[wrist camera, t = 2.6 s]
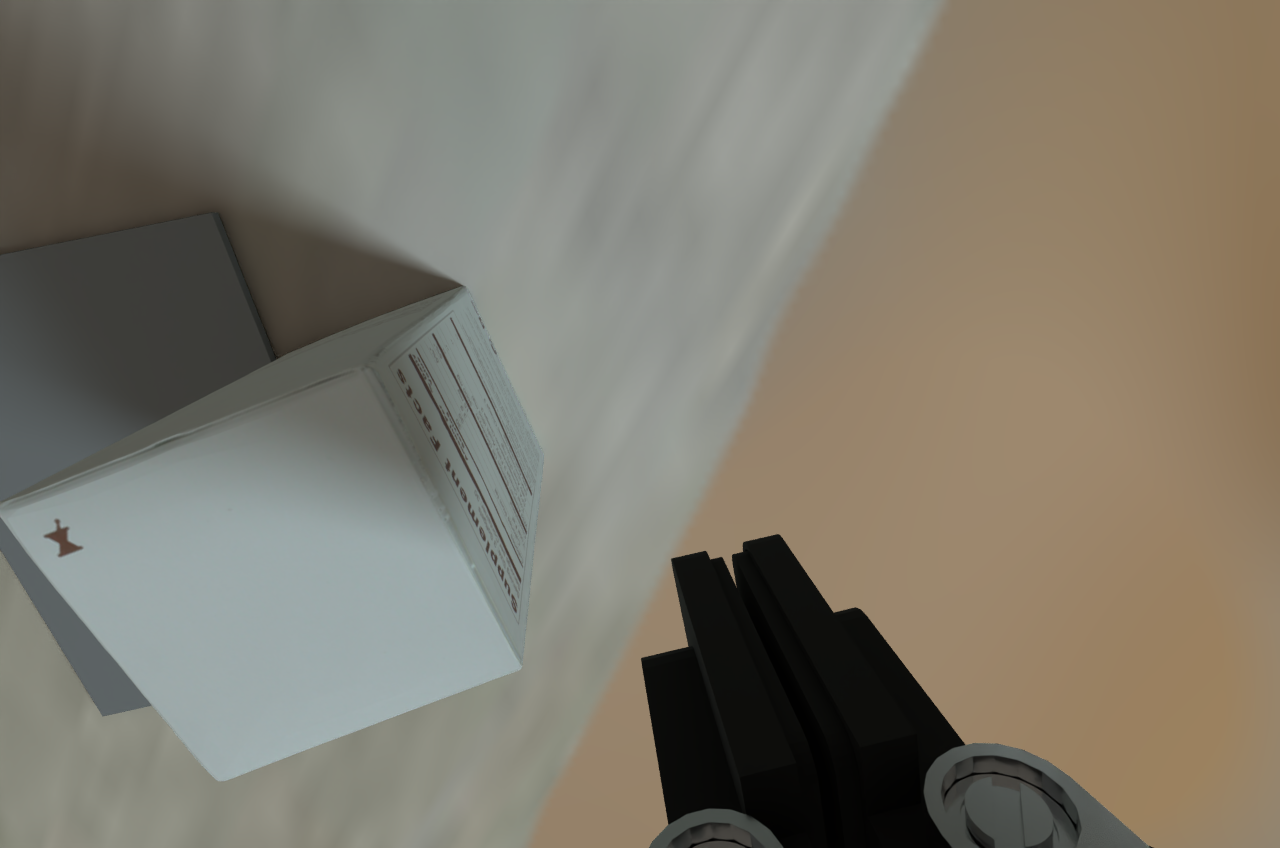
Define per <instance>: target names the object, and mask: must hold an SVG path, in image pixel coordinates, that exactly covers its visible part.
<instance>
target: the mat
mask: <svg viewBox="0 0 1280 848" xmlns="http://www.w3.org/2000/svg"><path fill="white" fill-rule="evenodd" d="M275 360H276V358H275V355H274V353H273V350H272V348H271V345H270V343H269V340H268V338H267V335H266V333H265V330H264V328H263V325H262V323H261V320H260V318H259V315H258V313H257V310H256V308H255V305H254V303H253V300H252V297H251V295H250V292H249V290H248V287H247V285H246V282H245V280H244V277H243V275H242V272H241V270H240V267H239V265H238V262H237V260H236V257H235V255H234V252H233V250H232V247H231V245H230V242H229V240H228V237H227V234H226V232H225V229H224V227H223V224H222V222H221V219H220V217H219V214H218V213H207V214H202V215H197V216H192V217H187V218H182V219H177V220H172V221H167V222H162V223H157V224H152V225H147V226H142V227H137V228H132V229H127V230H122V231H117V232H112V233H107V234H102V235H97V236H92V237H87V238H82V239H77V240H72V241H67V242H62V243H57V244H52V245H47V246H42V247H37V248H32V249H27V250H22V251H17V252H12V253H7V254H2V255H0V502H1V501H3V500H5V499H7V498H9V497H11V496H13V495H15V494H17V493H19V492H21V491H23V490H25V489H27V488H29V487H31V486H33V485H34V484H36V483H38V482H40V481H42V480H44V479H46V478H48V477H50V476H52V475H54V474H56V473H57V472H59V471H61V470H63V469H65V468H67V467H69V466H71V465H73V464H75V463H77V462H79V461H81V460H83V459H85V458H87V457H88V456H90V455H92V454H94V453H96V452H98V451H100V450H102V449H104V448H106V447H108V446H110V445H112V444H114V443H116V442H118V441H120V440H121V439H123V438H125V437H127V436H129V435H131V434H133V433H135V432H137V431H139V430H141V429H143V428H145V427H147V426H149V425H151V424H153V423H155V422H157V421H159V420H160V419H162V418H164V417H166V416H168V415H170V414H172V413H174V412H176V411H178V410H180V409H182V408H184V407H186V406H187V405H189V404H191V403H193V402H195V401H197V400H199V399H201V398H203V397H205V396H207V395H209V394H211V393H213V392H215V391H217V390H219V389H221V388H223V387H225V386H227V385H229V384H231V383H233V382H235V381H236V380H238V379H240V378H242V377H244V376H246V375H248V374H250V373H252V372H253V371H255V370H257V369H259V368H261V367H263V366H265V365H267V364H269V363H271V362H273V361H275ZM0 549H1V551H2V553H3V554H4V556H5V558H6V559H7V561H8V562H9V564H10V566H11V567H12V569H13V571H14V572H15V574H16V575H17V577H18V579H19V580H20V582H21V584H22V585H23V587H24V589H25V590H26V592H27V593H28V595H29V597H30V598H31V600H32V602H33V603H34V605H35V607H36V608H37V610H38V611H39V613H40V615H41V616H42V618H43V620H44V621H45V623H46V624H47V626H48V628H49V629H50V631H51V633H52V634H53V636H54V638H55V639H56V641H57V642H58V644H59V646H60V647H61V649H62V651H63V652H64V654H65V656H66V657H67V659H68V660H69V662H70V664H71V665H72V667H73V669H74V670H75V672H76V673H77V675H78V677H79V678H80V680H81V682H82V683H83V685H84V687H85V688H86V690H87V691H88V693H89V695H90V696H91V698H92V700H93V701H94V703H95V705H96V706H97V708H98V709H99V711H100V713H101V714H102V716H107V715H112V714H116V713H120V712H125V711H129V710H134V709H138V708H143V707H147V706H151V704H150V703H149V701H148V700H147V699H146V698H145V697H144V695H143V694H142V693H141V692H140V691H139V689H138V688H137V687H136V686H135V684H134V683H133V682H132V681H131V679H130V678H129V677H128V676H127V675H126V673H125V672H124V671H123V670H122V668H121V667H120V666H119V665H118V663H117V662H116V661H115V660H114V659H113V658H112V656H111V655H110V654H109V653H108V652H107V651H106V649H105V648H104V647H103V646H102V645H101V643H100V642H99V641H98V640H97V639H96V637H95V636H94V635H93V634H92V632H91V631H90V630H89V629H88V628H87V626H86V625H85V624H84V623H83V621H82V620H81V619H80V618H79V617H78V615H77V614H76V613H75V612H74V611H73V609H72V608H71V607H70V606H69V605H68V603H67V602H66V601H65V600H64V599H63V597H62V596H61V595H60V594H59V593H58V591H57V590H56V589H55V588H54V587H53V585H52V584H51V583H50V582H49V580H48V579H47V578H46V577H45V575H44V574H43V573H42V572H41V570H40V569H39V568H38V567H37V565H36V564H35V563H34V562H33V560H32V559H31V558H30V557H29V555H28V554H27V553H26V551H25V550H24V549H23V547H22V546H21V544H20V543H19V542H18V540H17V539H16V538H15V536H14V535H13V533H12V532H11V531H10V529H9V528H8V527H7V525H6V524H5V523H4V521H3V520H2V519H1V518H0Z"/></svg>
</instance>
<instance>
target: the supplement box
mask: <svg viewBox="0 0 1280 848" xmlns="http://www.w3.org/2000/svg"><path fill="white" fill-rule="evenodd" d="M543 464H544V454H543V451H542V450H541V448H540V446H539V444H538V441H537V439H536V437H535V435H534V433H533V431H532V428H531V426H530V424H529V422H528V420H527V418H526V416H525V413H524V411H523V409H522V407H521V405H520V402H519V400H518V398H517V396H516V394H515V392H514V389H513V387H512V385H511V383H510V381H509V378H508V376H507V374H506V372H505V370H504V367H503V365H502V363H501V361H500V359H499V356H498V354H497V352H496V350H495V348H494V346H493V343H492V341H491V339H490V337H489V335H488V332H487V330H486V328H485V326H484V324H483V321H482V319H481V317H480V315H479V313H478V311H477V308H476V306H475V304H474V302H473V300H472V298H471V295H470V293H469V291H468V289H467V288H466V287H464V286H462V287H458V288H455V289H452V290H450V291H447V292H444V293H441V294H438V295H436V296H433V297H430V298H427V299H424V300H422V301H419V302H416V303H413V304H410V305H408V306H405V307H402V308H399V309H397V310H394V311H391V312H389V313H386V314H383V315H380V316H378V317H375V318H373V319H370V320H367V321H365V322H363V323H360V324H358V325H355V326H353V327H350V328H348V329H345V330H343V331H340V332H338V333H335V334H333V335H331V336H328V337H326V338H323V339H321V340H319V341H316V342H314V343H312V344H309V345H307V346H304V347H302V348H300V349H297V350H295V351H292V352H290V353H287V354H285V355H284V356H282V357H281V358H279V359H277V360H275V361H273V362H271V363H269V364H267V365H265V366H263V367H261V368H259V369H257V370H255V371H253V372H252V373H250V374H248V375H246V376H244V377H242V378H240V379H238V380H236V381H235V382H233V383H231V384H229V385H227V386H225V387H223V388H221V389H219V390H217V391H215V392H213V393H211V394H209V395H207V396H205V397H203V398H201V399H199V400H197V401H195V402H193V403H191V404H189V405H187V406H186V407H184V408H182V409H180V410H178V411H176V412H174V413H172V414H170V415H168V416H166V417H164V418H162V419H160V420H159V421H157V422H155V423H153V424H151V425H149V426H147V427H145V428H143V429H141V430H139V431H137V432H135V433H133V434H131V435H129V436H127V437H125V438H123V439H121V440H120V441H118V442H116V443H114V444H112V445H110V446H108V447H106V448H104V449H102V450H100V451H98V452H96V453H94V454H92V455H90V456H88V457H87V458H85V459H83V460H81V461H79V462H77V463H75V464H73V465H71V466H69V467H67V468H65V469H63V470H61V471H59V472H57V473H56V474H54V475H52V476H50V477H48V478H46V479H44V480H42V481H40V482H38V483H36V484H34V485H33V486H31V487H29V488H27V489H25V490H23V491H21V492H19V493H17V494H15V495H13V496H11V497H9V498H7V499H5V500H3V501H1V502H0V518H1V519H2V520H3V521H4V523H5V524H6V525H7V527H8V528H9V529H10V531H11V532H12V533H13V535H14V536H15V538H16V539H17V540H18V542H19V543H20V544H21V546H22V547H23V549H24V550H25V551H26V553H27V554H28V555H29V557H30V558H31V559H32V560H33V562H34V563H35V564H36V565H37V567H38V568H39V569H40V570H41V572H42V573H43V574H44V575H45V577H46V578H47V579H48V580H49V582H50V583H51V584H52V585H53V587H54V588H55V589H56V590H57V591H58V593H59V594H60V595H61V596H62V597H63V599H64V600H65V601H66V602H67V603H68V605H69V606H70V607H71V608H72V609H73V611H74V612H75V613H76V614H77V615H78V617H79V618H80V619H81V620H82V621H83V623H84V624H85V625H86V626H87V628H88V629H89V630H90V631H91V632H92V634H93V635H94V636H95V637H96V639H97V640H98V641H99V642H100V643H101V645H102V646H103V647H104V648H105V649H106V651H107V652H108V653H109V654H110V655H111V656H112V658H113V659H114V660H115V661H116V662H117V663H118V665H119V666H120V667H121V668H122V670H123V671H124V672H125V673H126V675H127V676H128V677H129V678H130V679H131V681H132V682H133V683H134V684H135V686H136V687H137V688H138V689H139V691H140V692H141V693H142V694H143V695H144V697H145V698H146V699H147V700H148V701H149V703H150V704H151V705H152V706H153V707H154V709H155V710H156V711H157V712H158V713H159V715H160V716H161V717H162V718H163V719H164V721H165V722H166V723H167V724H168V725H169V726H170V728H171V729H172V730H173V731H174V733H175V734H176V735H177V737H178V738H179V739H180V740H181V741H182V742H183V743H184V745H185V746H186V748H187V749H188V750H189V751H190V752H191V754H192V755H193V756H194V757H195V758H196V759H197V761H198V762H199V763H200V764H201V765H202V766H203V767H204V768H205V769H206V770H207V771H208V772H209V773H210V774H211V775H212V776H213V777H214V778H215V779H216V780H217V781H226V780H229V779H232V778H235V777H237V776H240V775H242V774H245V773H247V772H250V771H252V770H255V769H258V768H260V767H263V766H265V765H268V764H270V763H273V762H276V761H278V760H281V759H284V758H286V757H289V756H291V755H294V754H297V753H299V752H302V751H304V750H307V749H310V748H312V747H315V746H317V745H320V744H323V743H325V742H328V741H331V740H333V739H336V738H339V737H342V736H344V735H347V734H350V733H352V732H355V731H358V730H360V729H363V728H366V727H368V726H371V725H374V724H376V723H379V722H382V721H384V720H387V719H390V718H392V717H395V716H398V715H400V714H403V713H405V712H408V711H411V710H413V709H416V708H419V707H421V706H424V705H427V704H429V703H432V702H435V701H437V700H440V699H443V698H445V697H448V696H451V695H454V694H456V693H459V692H462V691H465V690H467V689H470V688H473V687H475V686H478V685H481V684H483V683H486V682H488V681H491V680H493V679H496V678H499V677H502V676H505V675H508V674H510V673H513V672H516V671H518V670H520V669H521V668H522V664H523V654H524V644H525V633H526V624H527V616H528V607H529V597H530V585H531V577H532V566H533V556H534V544H535V536H536V526H537V518H538V510H539V501H540V491H541V482H542V473H543Z"/></svg>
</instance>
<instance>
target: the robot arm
mask: <svg viewBox="0 0 1280 848" xmlns="http://www.w3.org/2000/svg"><path fill="white" fill-rule="evenodd" d="M732 561H733V568H734V574H735V580H736V585H735V583H734V581H733V579H732V577H731V575H730V572H729V570H728V568H727V566H726V564H725V562H724V560H723V558H722V557H719V558H715V559H711V560H710V558H709V556H708V554H707V552H706V551H703V552H698V553H694V554H690V555H685V556H681V557H676V558H672V559H671V562H672V567H673V573H674V578H675V582H676V587H677V592H678V597H679V602H680V607H681V612H682V617H683V621H684V626H685V632H686V636H687V641H688V646H689V647H686V648H682V649H677V650H673V651H669V652H665V653H660V654H656V655H652V656H648V657H644V658H641V661H642V668H643V674H644V680H645V687H646V693H647V699H648V704H649V710H650V716H651V723H652V729H653V734H654V740H655V747H656V753H657V758H658V764H659V771H660V777H661V783H662V789H663V795H664V801H665V807H666V813H667V819H668V826H667V827H666V828H665V829H664V830H663V831H662V832H661V833H660V834H659V835H658V836H657V837H656V838H655V839H654V840H653V841H652V843H651V845H650V847H649V848H1153V847H1150V846H1148V845H1147V844H1146V843H1145V842H1143V841H1142V840H1141V839H1140V838H1139V837H1138V836H1137V835H1136V834H1134V833H1133V832H1132V831H1131V830H1130V829H1129V828H1127V827H1126V826H1125V825H1124V824H1123V823H1122V822H1121V821H1120V820H1119V819H1117V818H1116V817H1115V816H1114V815H1113V814H1112V813H1111V812H1109V811H1108V810H1107V809H1106V808H1105V807H1104V806H1103V805H1101V804H1100V803H1099V802H1098V801H1097V800H1096V799H1095V798H1094V797H1092V796H1091V795H1090V794H1089V793H1088V792H1087V791H1086V790H1085V789H1083V788H1082V787H1081V786H1080V785H1079V784H1078V783H1076V782H1075V781H1074V780H1073V779H1072V778H1071V777H1070V776H1068V775H1067V774H1065V773H1064V772H1063V771H1061V770H1060V769H1058V768H1057V767H1056V766H1054V765H1053V764H1051V763H1050V762H1048V761H1046V760H1044V759H1042V758H1040V757H1038V756H1035V755H1033V754H1031V753H1029V752H1027V751H1025V750H1022V749H1018V748H1013V747H1009V746H1005V745H1001V744H988V743H987V744H986V743H973V744H969V745H965V744H964V742H963V741H962V740H961V738H960V737H959V736H958V734H957V733H956V732H955V731H954V729H953V728H952V727H951V725H950V724H949V723H948V721H947V720H946V719H945V717H944V716H943V715H942V714H941V712H940V711H939V710H938V708H937V707H936V706H935V705H934V703H933V702H932V700H931V699H930V698H929V697H928V696H927V694H926V693H925V692H924V690H923V689H922V687H921V686H920V685H919V684H918V682H917V681H916V680H915V678H914V677H913V676H912V674H911V673H910V672H909V671H908V669H907V668H906V667H905V665H904V664H903V663H902V661H901V660H900V659H899V658H898V656H897V655H896V654H895V652H894V651H893V650H892V648H891V647H890V646H889V644H888V643H887V642H886V640H885V639H884V638H883V636H882V635H881V634H880V633H879V631H878V630H877V629H876V628H875V626H874V625H873V623H872V622H871V621H870V620H869V618H868V617H867V616H866V615H865V614H864V613H863V611H862V610H861V609H858V608H851V609H847V610H843V611H839V612H835V613H833V611H832V610H831V608H830V607H829V605H828V604H827V602H826V601H825V599H824V598H823V597H822V595H821V594H820V592H819V591H818V589H817V588H816V586H815V585H814V583H813V582H812V580H811V579H810V578H809V576H808V575H807V573H806V572H805V570H804V569H803V567H802V566H801V565H800V563H799V562H798V560H797V559H796V557H795V556H794V554H793V553H792V551H791V550H790V548H789V547H788V546H787V544H786V543H785V541H784V540H783V538H782V537H781V536H780V535H779V534H777V535H773V536H768V537H764V538H759V539H755V540H750V541H746V542H744V543H743V552H741V553H737V554H733V555H732ZM736 586H737V587H736Z"/></svg>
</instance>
